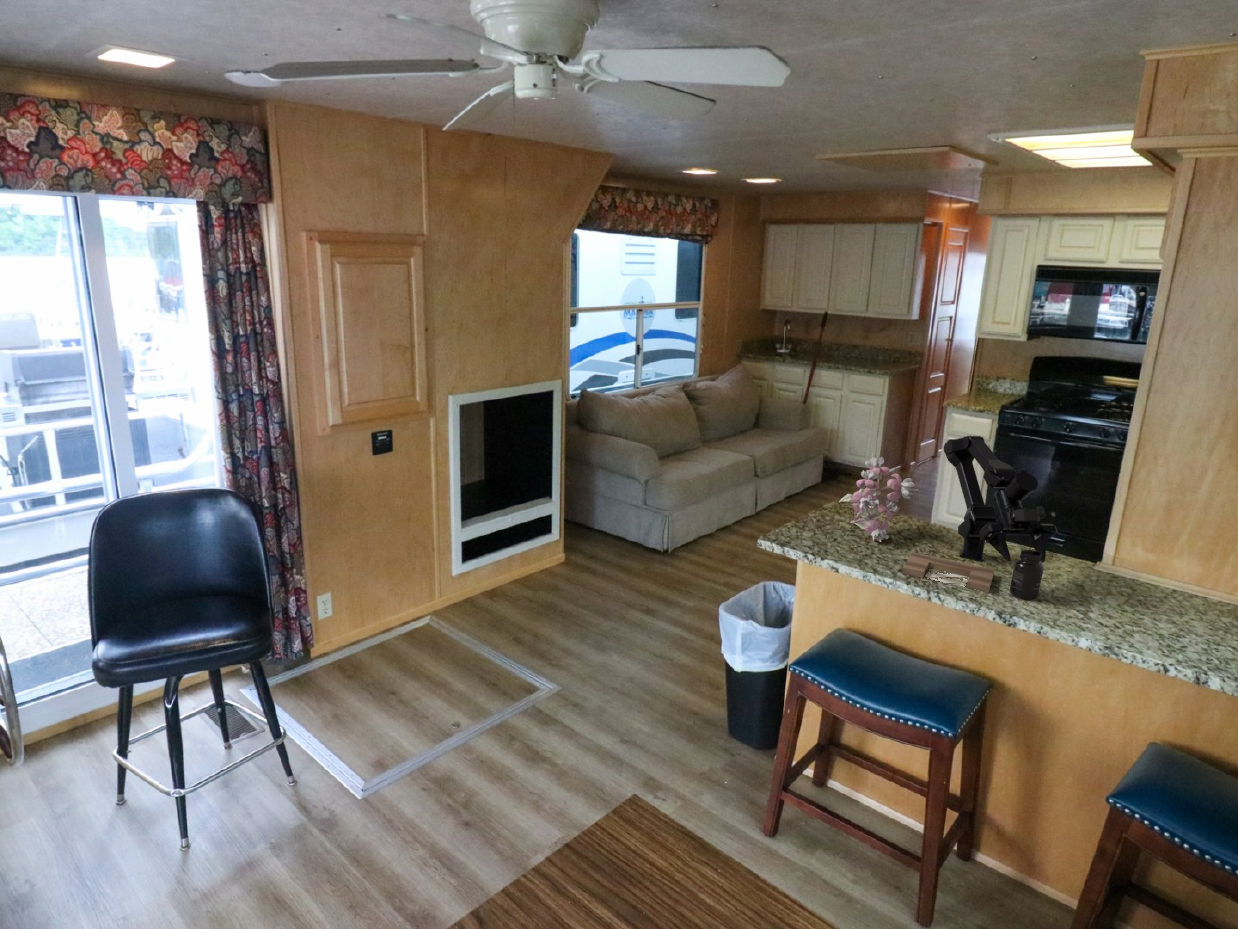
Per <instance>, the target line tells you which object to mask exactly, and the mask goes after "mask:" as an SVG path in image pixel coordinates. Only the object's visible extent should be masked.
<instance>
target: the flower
mask: <svg viewBox="0 0 1238 929" xmlns="http://www.w3.org/2000/svg"><path fill="white" fill-rule="evenodd" d="M873 454H874V453H873V452H871V456H872V457H871V458H867V460H866V461H865V462H864V463H865V466H866V468H867V469H866V470H864V469H863V470H862V471H861V472H860V475H861V477H862V478H863V479H859V480H857V481H856V482H855V483H856V486H857V488H860V489H859V490H857V491H855V492H853V494H851V493H847V494H845V495H844V496H843V497H842V498H841V499H840V500H839V501H838V503H841V502H850V503H851V506H852V508H853V510H854V511H853V520H851V521H850V524H855V525H856V526H857V527H858V528H860V529H861V530H864V531H865V532H866V533H868V535H869V536H871V537H872V540H873V542H875V540H876V542H879V543H882V540H884V538H885V539H886V540H888V539H889V537H890V536H889V535H888V534H887V533H888V528H889V522H888V521H887V520H889V521H893V520H894V519H895V515H894V513H896V512H898V511H899V510H900V507H898V504H897V503H898V502H900V500H899V499H900V497H901V496H902V497H903V499H907V500H910V499H911V497H910V496H909V495H911V496H915V493H914V491H915V487H914V486H916V484H915V483H914V482H913V478H910V477H909V478H907V477H906V478H905V479H902V477H901V476H900V474H898V473H893V474H891V475H890V468H889V467H888V466H882V465H883V464H884V463H885V459H884V457H882V456H880V457H879V456H875V457H874V455H873ZM868 468H869V469H868ZM880 473H881V474H882V476H884V477H886V476H888V475H890V476H891V477H892V478H891V479H888V480H887V482H886V485H885V486H883V487H881V488H880ZM875 479H877V481H875ZM902 480H903V481H902ZM865 486H866V487H865ZM863 487H865V488H863ZM885 489H891V490H893V492H890V493H888V494H886V498H887V500H886V501H885V504H880V501H879V498H878V497H877V496H880V495H881V493H882V492H881V491H882V490H885ZM919 490H920V488H917V491H919ZM875 506H876V508H875ZM882 512H883V513H882ZM881 513H882V514H881ZM883 516H884V518H885V519H883V521H882V523H881V524H880V520H879V518H881V517H883ZM859 517H861V518H859Z"/></svg>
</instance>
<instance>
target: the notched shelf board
mask: <svg viewBox="0 0 1238 929" xmlns="http://www.w3.org/2000/svg"><path fill="white" fill-rule="evenodd" d="M928 568H930V569H928ZM933 569H934V570H942V571H946V572H950V574H948V573H947V574H943V573H939V572H938V573H937V574H935V573H934V572H932V573H931V572H930V574H929V573H927V572H928V570H933ZM926 571H927V572H926ZM995 571H996V570H995V568H992V567H986V566H982V565H977V564H971V563H967V562H961V561H957V560H951V559H948V558H943V557H938V556H931V555H929V554H924V553H918V552H914V551H912V552H911V553H910V555H909V557H908V558H907V560H906V562H905V563H904V565H903V567H902V573H901V574H902V575H905V576H909V577H915V578H918V577H920V578H919V579H924V578H925V577H930V579H931V580H930V581H933V580H935V581H934V582H937V581H940V582H939V583H942V582H943V583H944V584H946V583H967V584H965V586H966V587H965V586H964V584H963V585H960V586H963V587H962V588H964V587H965V588H966V589H968V590H972V589H976V590H975V591H977V590H979V591H978V592H981V591H982V593H985V594H986V593H987V594H989V593H990V590H991V586H992V583H993V580H994V576H995ZM925 573H926V574H925ZM951 573H954V574H951ZM924 575H925V576H924ZM961 575H963V576H961ZM923 577H924V578H923ZM931 577H938V580H937V579H935V578H931ZM939 577H969V578H968V580H967V579H965V578H963V581H961V580H960V579H956V580H953V579H950V578H948V579H941V578H939ZM928 579H929V578H927V579H926V580H928ZM960 586H959V587H960Z"/></svg>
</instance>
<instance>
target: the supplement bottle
mask: <svg viewBox="0 0 1238 929" xmlns="http://www.w3.org/2000/svg"><path fill="white" fill-rule="evenodd" d="M1041 557H1042V554H1040V553H1039V552H1036V550H1031V549H1023V550H1021V551H1020V555H1019V559H1016V561H1015V562H1014V563H1013V564H1014V565H1013V568H1012V574H1011V580H1010V585H1009V593H1010V595H1012V596H1013V597H1016V598H1018V599H1021V600H1025V601H1035V600H1037V599H1038V597H1039V593H1040V588H1041V584H1042V579H1043V574H1044V566H1043V564H1041V563H1042V562H1041Z"/></svg>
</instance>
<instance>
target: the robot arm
mask: <svg viewBox="0 0 1238 929" xmlns="http://www.w3.org/2000/svg"><path fill="white" fill-rule="evenodd" d="M943 452H944V454H945V456H946V460H947V461H948V463H950V464H951V465H952V466H953V467H954V468H955V470H956V473H957V476H958V481H959V485H960V487H961V491H962V492H961V493H962V494H963V499H964V502H965V507H966V511H965V514H964V516H963V521H961V522H962V523H960V524H959V525H957V534H958V535H960V537H962V538H963V544H962V549H961V550H960V552H959V555H958V557H960V558H965V559H970V560H975V561H979V562H984V560H985V556H986V554H985V552H984V551H985V547H986V544H989V545H990V546H992V548H994V549H995V550H996V551H997V553H998V554H1000V555H1001V556H1002V557H1003V558H1004V560H1005V561H1006V562H1008V563H1010V562H1011V561H1012V558H1011V553H1010V550H1009V547H1008V545H1007V544H1008V543H1007V541H1006V538H1007V536H1030V538H1031V539H1032V540H1033V541H1032V542H1031V543H1032V546H1033V548H1034V551H1036V552H1039V553H1040V554H1042V557H1041V562H1040V563H1044V562H1046V554H1047V545H1048V542H1049V540H1051V538H1053V537H1054V536H1055V535H1056V534H1058V530H1057V527H1056V525H1055V524H1053V523H1039V524H1038V525H1036V526H1035V527H1034V528H1033V527H1031V526H1032V525H1034V522H1040V521H1041V520H1042V519H1045V518H1046V511H1045V509H1044V507H1043V505H1042V506H1039V505H1037V506H1033V507H1032V508H1026V507H1025V506H1023V505H1022V502H1021V501H1023V500H1025V499H1027V497H1029V495H1030V494H1032V493H1033V492H1034V491H1036V489H1037V488H1038V485H1039V484H1038V483H1039V482H1038V479H1037V478H1036V477H1035V476H1033V474H1031V473H1029V472H1028V471H1027V469H1025V468H1023V469H1022V468H1019V469H1017V471H1016V469H1015V468H1014V467H1012V466H1011V465H1010V464H1008V463H1006V462H1003V461H1001V460H1000V459H999V458H998V457H997V455H996V454H995V453H994V451H993V450H992V449H991V448H990V447H989V446H988V445H987V443H986V442H985V438H984V437H983V436H981V435H966V436H963V437H960V438H955V439H954V438H950V439H948V440H947V441H946V442H945V443H944V445H943ZM974 460H975V461H976V462H977V464H978V465H979V466H980V467H981V468H982V470H983V472H984V473H983V477H982V478H983V479H984V481H985V484H986V485H987V487H989V488H992V489H993V488H994V489H995V488H996V489H998V488H999V489H998V490H995V491H994V494H993V496H992V497H991V501H992V502H996V504H997V508H998V511H999V515H998V516H996V512H995V508H994V507H993V506H987V505H986V504H985V500H984V498H983V494H982V491H981V487H980V484H979V480H978V477H977V473H976V471H975V470H976V469H975V467H974V464H973V462H974ZM998 520H1000V521H1002V522H998ZM1030 527H1031V528H1030Z"/></svg>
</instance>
